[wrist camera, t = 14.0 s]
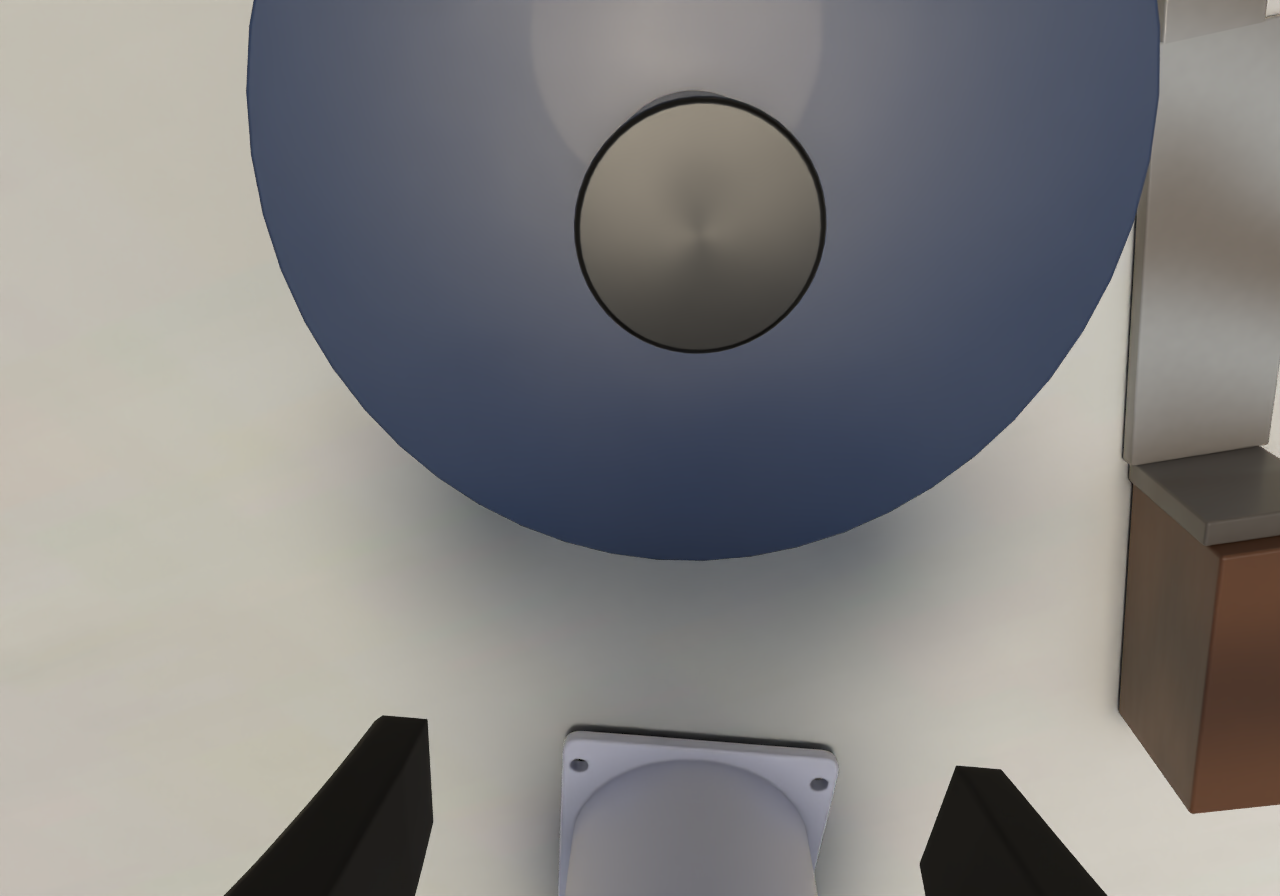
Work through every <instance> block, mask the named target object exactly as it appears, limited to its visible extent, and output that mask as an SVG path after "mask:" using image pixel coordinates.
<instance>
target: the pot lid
mask: <svg viewBox="0 0 1280 896" xmlns="http://www.w3.org/2000/svg"><path fill="white" fill-rule="evenodd" d="M1159 92H1160V20H1159V12H1158V3H1157V0H254V2H253V8H252V13H251V19H250V25H249V43H248V65H247V87H246V95H247V108H248V121H249V134H250V147H251V157H252V162H253V167H254V172H255V177H256V182H257V187H258V192H259V197H260V202H261V207H262V212H263V216H264V219H265V222H266V225H267V228H268V232H269V235H270V238H271V241H272V244H273V247H274V250H275V253H276V256H277V259H278V263H279V266H280V269H281V271H282V273H283V276H284V278H285V280H286V282H287V284H288V287H289V289H290V291H291V293H292V295H293V298H294V300H295V302H296V304H297V306H298V309H299V311H300V313H301V315H302V317H303V319H304V322H305V323H306V325H307V327H308V328H309V330H310V332H311V333H312V335H313V337H314V338H315V340H316V341H317V343H318V345H319V346H320V348H321V350H322V351H323V353H324V355H325V356H326V358H327V360H328V361H329V363H330V365H331V366H332V368H333V369H334V371H335V372H336V373H337V374H338V376H339V377H340V378H341V380H342V381H343V382H344V384H345V385H346V386H347V387H348V389H349V390H350V391H351V393H352V394H353V395H354V397H355V398H356V399H357V400H358V402H359V403H360V404H361V406H362V407H363V408H364V410H365V411H366V412H367V413H368V414H369V415H370V416H371V417H372V418H373V419H374V420H375V421H376V422H377V423H378V424H379V425H380V426H381V427H382V428H383V429H384V430H385V431H386V432H387V433H388V434H389V435H390V436H391V437H392V439H393V440H394V441H395V442H396V443H397V444H398V445H399V446H400V447H402V448H403V449H404V450H405V451H406V452H408V453H409V454H410V455H411V456H412V457H414V458H415V459H416V460H417V461H418V462H420V463H421V464H422V465H423V466H425V467H426V468H427V469H428V470H429V471H431V472H432V473H433V474H434V475H435V476H437V477H438V478H439V479H441V480H442V481H444V482H445V483H447V484H449V485H450V486H452V487H453V488H455V489H456V490H458V491H459V492H461V493H462V494H464V495H465V496H467V497H468V498H470V499H472V500H473V501H475V502H476V503H478V504H479V505H481V506H483V507H485V508H487V509H489V510H491V511H493V512H495V513H497V514H499V515H501V516H503V517H505V518H507V519H509V520H511V521H513V522H515V523H517V524H519V525H521V526H523V527H526V528H529V529H532V530H534V531H537V532H540V533H542V534H545V535H548V536H550V537H553V538H556V539H559V540H561V541H564V542H567V543H571V544H575V545H579V546H583V547H587V548H591V549H595V550H599V551H603V552H607V553H611V554H619V555H626V556H634V557H641V558H649V559H656V560H695V561H706V560H718V559H729V558H740V557H751V556H756V555H761V554H766V553H771V552H776V551H781V550H786V549H791V548H796V547H800V546H803V545H806V544H809V543H813V542H816V541H819V540H822V539H825V538H828V537H832V536H835V535H838V534H841V533H844V532H846V531H848V530H851V529H853V528H855V527H858V526H860V525H862V524H864V523H867V522H869V521H871V520H873V519H876V518H878V517H880V516H883V515H885V514H887V513H889V512H891V511H893V510H894V509H896V508H898V507H900V506H901V505H903V504H905V503H906V502H908V501H910V500H912V499H913V498H915V497H917V496H919V495H920V494H922V493H924V492H925V491H927V490H929V489H931V488H932V487H934V486H935V485H936V484H938V483H939V482H941V481H942V480H943V479H945V478H946V477H947V476H949V475H950V474H951V473H953V472H954V471H956V470H957V469H958V468H960V467H961V466H962V465H964V464H965V463H966V462H968V461H969V460H971V459H972V458H973V457H975V456H976V455H977V454H978V453H979V452H980V451H981V450H982V449H983V448H984V447H985V446H987V445H988V444H989V443H990V442H991V441H992V440H993V439H994V438H995V437H996V436H997V435H999V434H1000V433H1001V432H1002V431H1003V430H1004V429H1005V428H1006V427H1007V426H1008V425H1009V424H1010V423H1012V422H1013V421H1014V420H1015V419H1016V417H1017V416H1018V415H1019V414H1020V413H1021V412H1022V411H1023V409H1024V408H1025V407H1026V406H1027V405H1028V404H1029V402H1030V401H1031V400H1032V399H1033V398H1034V397H1035V396H1036V394H1037V393H1038V392H1039V391H1040V390H1041V389H1042V388H1043V386H1044V385H1045V384H1046V383H1047V382H1048V381H1049V380H1050V378H1051V377H1052V376H1053V374H1054V373H1055V371H1056V370H1057V368H1058V367H1059V365H1060V364H1061V363H1062V361H1063V360H1064V358H1065V357H1066V355H1067V354H1068V352H1069V351H1070V350H1071V348H1072V347H1073V345H1074V344H1075V342H1076V341H1077V339H1078V338H1079V337H1080V335H1081V334H1082V332H1083V331H1084V329H1085V327H1086V325H1087V323H1088V321H1089V319H1090V318H1091V316H1092V314H1093V312H1094V310H1095V308H1096V306H1097V305H1098V303H1099V301H1100V299H1101V297H1102V295H1103V293H1104V292H1105V290H1106V288H1107V286H1108V284H1109V282H1110V280H1111V278H1112V276H1113V273H1114V271H1115V268H1116V266H1117V263H1118V261H1119V258H1120V256H1121V253H1122V251H1123V248H1124V246H1125V243H1126V241H1127V238H1128V236H1129V233H1130V230H1131V228H1132V225H1133V223H1134V220H1135V216H1136V212H1137V208H1138V205H1139V201H1140V197H1141V193H1142V190H1143V186H1144V182H1145V178H1146V175H1147V171H1148V167H1149V163H1150V159H1151V152H1152V145H1153V138H1154V130H1155V123H1156V116H1157V109H1158V102H1159Z"/></svg>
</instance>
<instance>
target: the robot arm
mask: <svg viewBox="0 0 1280 896" xmlns="http://www.w3.org/2000/svg"><path fill="white" fill-rule="evenodd" d="M575 759H582V760H585V761H577V760H575ZM838 774H839V766H838V762H837V759H836V757H835V755H834V754H832V753H831V752H829V751H825V750H817V749H805V748H792V747H780V746H767V745H754V744H742V743H729V742H716V741H704V740H691V739H678V738H666V737H653V736H641V735H628V734H615V733H603V732H590V731H575V732H572V733H570V734H569V735H568V736H567V737H566V738H565V741H564V746H563V759H562V788H561V817H560V847H559V876H558V896H818V894H817V888H816V883H815V877H814V872H815V868H816V864H817V860H818V856H819V851H820V847H821V843H822V839H823V835H824V831H825V827H826V823H827V819H828V815H829V811H830V807H831V802H832V798H833V794H834V790H835V786H836V782H837V778H838ZM816 778H822V779H820V780H814V779H816ZM432 825H433V809H432V791H431V773H430V756H429V738H428V720H427V719H418V718H407V717H395V716H384V715H383V716H381V717H380V718H378V719H377V720H376V721H375V722H374V723H373V724H372V726H371V727H370V728H369V729H368V731H367V732H366V733H365V735H364V736H363V737H362V738H361V740H360V741H359V742H358V744H357V745H356V746H355V747H354V749H353V750H352V751H351V752H350V754H349V755H348V756H347V757H346V759H345V760H344V761H343V762H342V764H341V765H340V766H339V767H338V769H337V770H336V771H335V772H334V773H333V775H332V776H331V777H330V778H329V779H328V781H327V782H326V783H325V784H324V785H323V787H322V788H321V789H320V790H319V791H318V793H317V794H316V795H315V796H314V797H313V798H312V800H311V801H310V802H309V803H308V804H307V806H306V807H305V808H304V809H303V810H302V811H301V812H300V813H299V815H298V816H297V817H296V818H295V819H294V820H293V821H292V822H291V824H290V825H289V826H288V827H287V828H286V829H285V830H284V832H283V833H282V834H281V835H280V836H279V837H278V838H277V839H276V841H275V842H274V843H273V844H272V845H271V846H270V847H269V848H268V850H267V851H266V852H265V853H264V854H263V855H262V856H261V857H260V858H259V859H258V861H257V862H256V863H255V864H254V865H253V866H252V867H251V868H250V869H249V870H248V871H247V872H246V873H245V874H244V875H243V876H242V877H241V878H240V879H239V881H238V882H237V883H236V884H235V885H234V886H233V887H232V888H231V889H230V890H229V891H228V892H227V893H226V894H225V895H224V896H415V894H416V890H417V886H418V882H419V878H420V874H421V870H422V866H423V862H424V858H425V854H426V850H427V846H428V841H429V837H430V833H431V829H432ZM920 869H921V874H922V880H923V885H924V890H925V896H1107V895H1106V894H1105V892H1104V891H1103V890H1102V889H1101V888H1100V887H1099V885H1098V884H1097V883H1096V882H1095V881H1094V880H1093V878H1092V877H1091V876H1090V875H1089V874H1088V873H1087V871H1086V870H1085V869H1084V868H1083V867H1082V865H1081V864H1080V863H1079V862H1078V861H1077V859H1076V858H1075V857H1074V856H1073V855H1072V854H1071V852H1070V851H1069V850H1068V849H1067V848H1066V846H1065V845H1064V844H1063V843H1062V842H1061V840H1060V839H1059V838H1058V837H1057V836H1056V834H1055V833H1054V832H1053V831H1052V830H1051V828H1050V827H1049V826H1048V825H1047V824H1046V822H1045V821H1044V820H1043V819H1042V818H1041V816H1040V815H1039V814H1038V813H1037V812H1036V810H1035V809H1034V808H1033V807H1032V806H1031V804H1030V803H1029V802H1028V801H1027V800H1026V798H1025V797H1024V796H1023V795H1022V794H1021V792H1020V791H1019V790H1018V789H1017V788H1016V786H1015V785H1014V784H1013V783H1012V782H1011V781H1010V779H1009V778H1008V777H1007V776H1006V775H1005V774H1004V772H1003V771H1002V770H1001V769H990V768H978V767H967V766H956V768H955V770H954V773H953V776H952V778H951V781H950V784H949V786H948V789H947V792H946V795H945V797H944V800H943V803H942V805H941V808H940V811H939V813H938V816H937V819H936V821H935V824H934V827H933V829H932V832H931V835H930V837H929V840H928V843H927V846H926V848H925V851H924V854H923V856H922V859H921V862H920Z"/></svg>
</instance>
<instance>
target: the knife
mask: <svg viewBox="0 0 1280 896" xmlns="http://www.w3.org/2000/svg"><path fill="white" fill-rule="evenodd" d="M1157 3H1158V12H1159V20H1160V92H1159V102H1158V109H1157V116H1156V123H1155V130H1154V138H1153V145H1152V152H1151V159H1150V163H1149V167H1148V171H1147V175H1146V178H1145V182H1144V186H1143V190H1142V193H1141V197H1140V201H1139V205H1138V208H1137V222H1136V240H1135V257H1134V275H1133V293H1132V311H1131V329H1130V347H1129V365H1128V383H1127V401H1126V419H1125V437H1124V455H1123V459H1124V460H1125V461H1126V462H1127V463H1129V464H1130V470H1129V480H1130V481H1131V482H1132V483H1133V497H1132V512H1131V528H1130V544H1129V560H1128V576H1127V592H1126V608H1125V624H1124V640H1123V656H1122V672H1121V688H1120V704H1119V713H1120V714H1121V716H1122V717H1123V719H1124V720H1125V721H1126V723H1127V724H1128V726H1129V727H1130V729H1131V730H1132V731H1133V733H1134V734H1135V736H1136V737H1137V738H1138V740H1139V741H1140V743H1141V744H1142V746H1143V747H1144V748H1145V750H1146V751H1147V753H1148V754H1149V755H1150V757H1151V758H1152V760H1153V761H1154V763H1155V764H1156V765H1157V767H1158V768H1159V770H1160V771H1161V772H1162V774H1163V775H1164V777H1165V778H1166V780H1167V781H1168V782H1169V784H1170V785H1171V787H1172V788H1173V789H1174V791H1175V792H1176V794H1177V795H1178V797H1179V798H1180V799H1181V801H1182V802H1183V804H1184V805H1185V806H1186V808H1187V809H1188V811H1189V812H1190V813H1192V814H1196V813H1205V812H1214V811H1224V810H1233V809H1242V808H1252V807H1261V806H1270V805H1280V458H1278V457H1276V456H1275V455H1273V454H1272V453H1270V452H1268V451H1267V450H1265V449H1264V448H1262V447H1260V445H1267V444H1268V442H1269V435H1270V428H1271V420H1272V413H1273V406H1274V399H1275V392H1276V385H1277V378H1278V371H1279V364H1280V14H1278V15H1274V16H1269V17H1265V16H1266V7H1267V0H1157Z"/></svg>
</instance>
